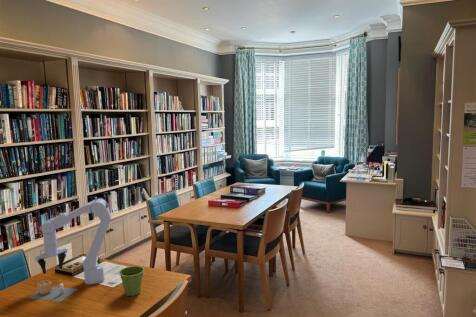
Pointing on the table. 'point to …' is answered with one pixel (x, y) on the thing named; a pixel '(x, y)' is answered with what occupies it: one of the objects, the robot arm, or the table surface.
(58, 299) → the board
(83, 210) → the robot arm
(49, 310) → the table surface
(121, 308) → the table surface
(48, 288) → the collar
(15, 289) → the table surface
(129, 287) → the plant pot
